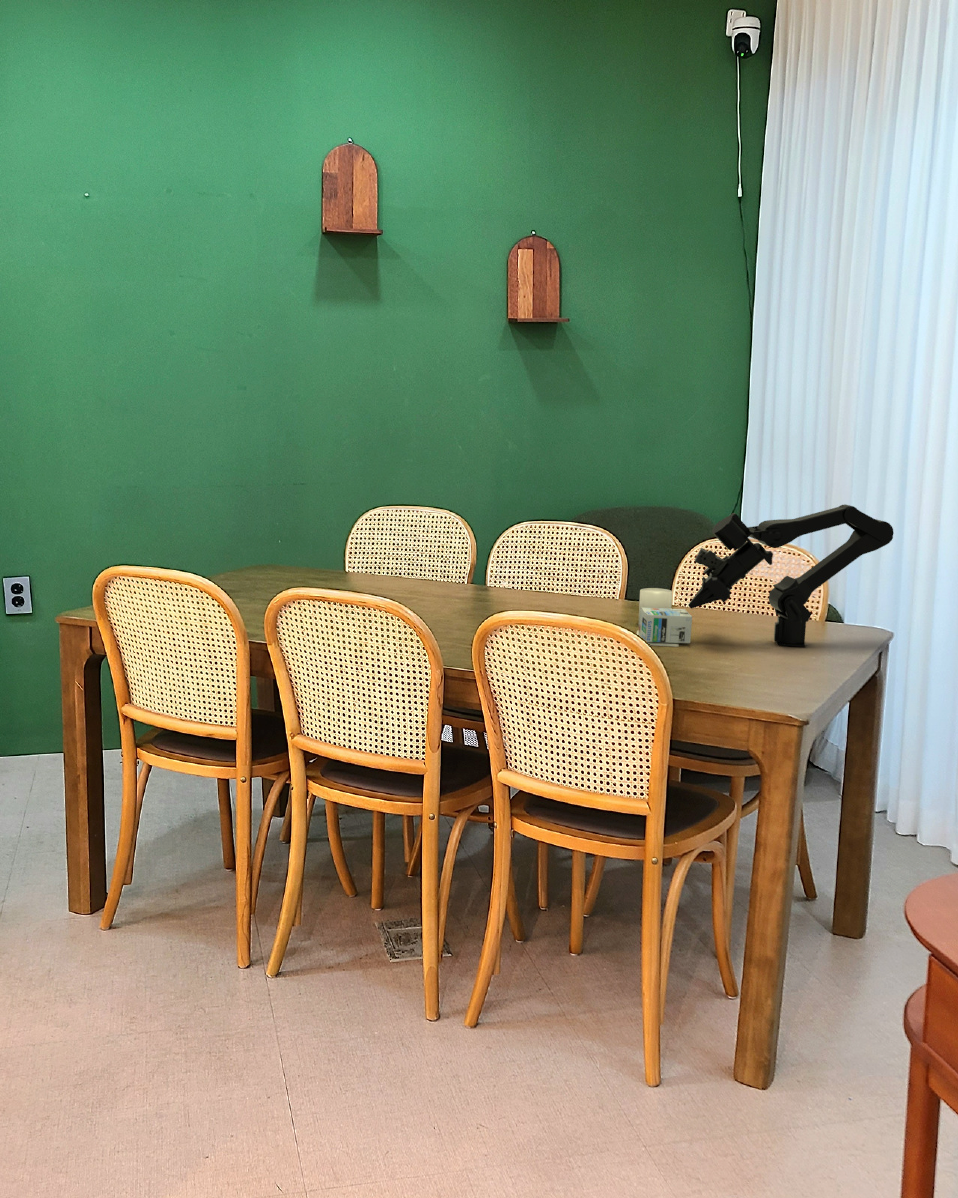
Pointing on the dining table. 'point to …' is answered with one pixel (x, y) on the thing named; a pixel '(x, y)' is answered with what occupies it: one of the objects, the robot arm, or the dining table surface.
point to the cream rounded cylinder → (655, 598)
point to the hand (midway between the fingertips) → (689, 606)
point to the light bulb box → (665, 625)
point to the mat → (661, 643)
